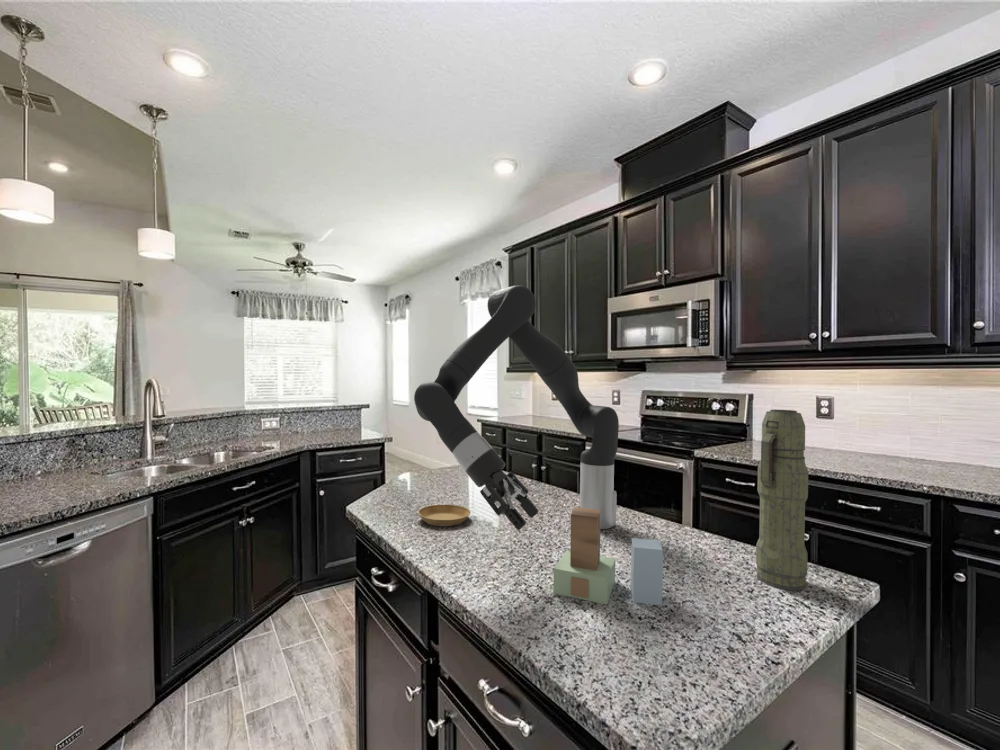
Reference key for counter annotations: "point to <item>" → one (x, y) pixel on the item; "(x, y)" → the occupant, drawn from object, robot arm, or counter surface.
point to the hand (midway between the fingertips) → (529, 520)
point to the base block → (585, 580)
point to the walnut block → (585, 538)
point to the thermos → (782, 501)
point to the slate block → (646, 571)
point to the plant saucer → (444, 515)
